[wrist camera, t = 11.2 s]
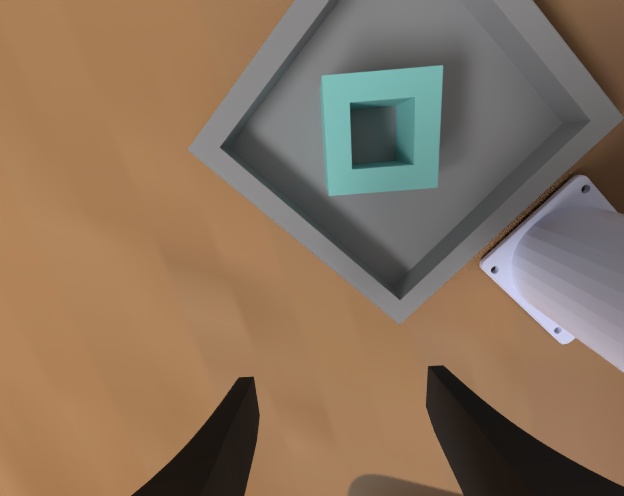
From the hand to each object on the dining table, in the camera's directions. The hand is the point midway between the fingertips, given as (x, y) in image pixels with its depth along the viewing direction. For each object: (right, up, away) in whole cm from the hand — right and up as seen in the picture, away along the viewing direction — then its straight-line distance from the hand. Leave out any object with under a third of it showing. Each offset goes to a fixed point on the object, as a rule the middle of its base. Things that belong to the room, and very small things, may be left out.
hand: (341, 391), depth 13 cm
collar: (+2, +12, +5) cm, 14 cm away
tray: (+4, +13, +6) cm, 14 cm away
